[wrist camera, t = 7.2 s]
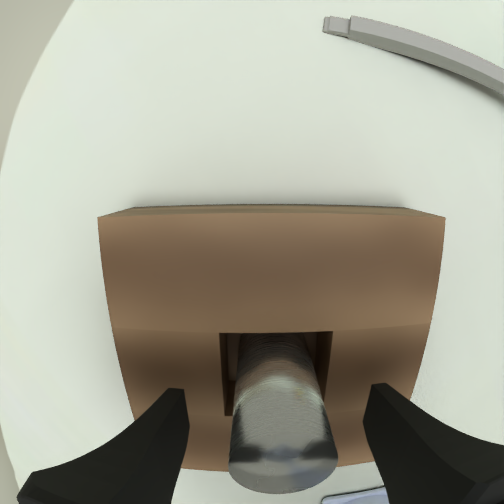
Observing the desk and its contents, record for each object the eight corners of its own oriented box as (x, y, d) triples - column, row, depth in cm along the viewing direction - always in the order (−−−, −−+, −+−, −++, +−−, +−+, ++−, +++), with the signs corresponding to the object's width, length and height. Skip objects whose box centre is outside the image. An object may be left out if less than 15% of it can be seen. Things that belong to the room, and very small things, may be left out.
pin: (306, 368, 16) (335, 486, 8) (243, 374, 16) (236, 496, 8) (303, 312, 15) (341, 424, 7) (234, 319, 15) (219, 437, 8)
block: (370, 418, 18) (387, 458, 14) (163, 421, 18) (149, 463, 14) (404, 207, 15) (445, 217, 11) (133, 207, 15) (97, 217, 11)
